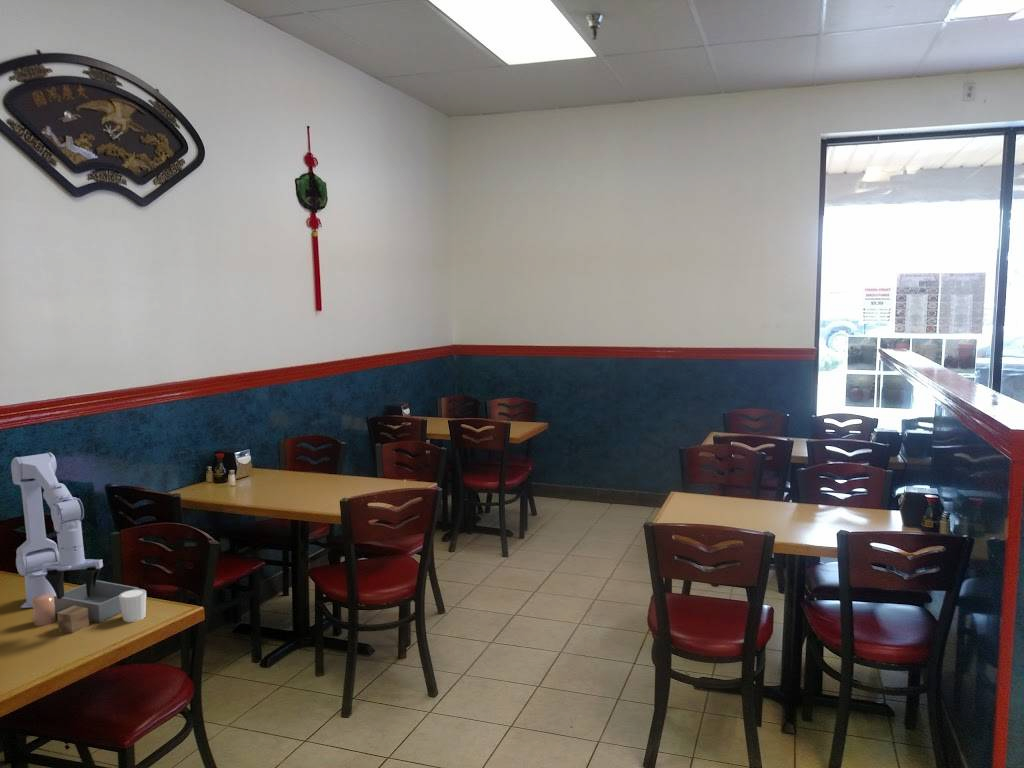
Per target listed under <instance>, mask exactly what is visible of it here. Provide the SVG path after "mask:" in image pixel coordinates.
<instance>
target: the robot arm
mask: <svg viewBox="0 0 1024 768" xmlns="http://www.w3.org/2000/svg"><path fill="white" fill-rule="evenodd" d="M57 467H58V466H57V460H56V456H55V455H54V454H53V453H52V452H46V453H45V452H44V453H39V454H31V455H26V456H16V457H13V459H12V460H11V463H10V470H11V478H12V483H13V485H16V486H17V485H18V486H19V488H20V491H21V498H22V506H23V507H22V508H23V515H24V516H23V517H24V527H25V534H26V535H25V537H26V540H25V541H24V542H23V543H22V544H20V546H18V547H17V548H16V557H15V567H16V569H17V572H18V574H19V575H20V576H23V577H24V587H25V599H26V601H24V603H23V604H22V605H21V606H20V609H26V608H27V609H28V608H33V602H32V599H33V598H34V597H36V596H38V595H42V594H53V595H54V596H57V598H58V599H61V598H62V597H64V592H65V588H64V576H65V571H77V570H78V571H79V570H84V571H82V573H81V574H82V576H83V578H84V582H85V583H84V584H86V591H87V596H88V597H90V596H92V595H93V594H94V588H95V583H96V580H98V577H99V573H100V572H101V570H102V568H103V567H104V563H103V559H93V558H92V559H91V558H88V559H87V558H86V557H85V550H84V540H83V539H84V538H83V530H82V529H83V527H82V520H84V517H85V509H84V505H83V502H82V501H81V499H80V498H78V497H74V496H72V494H71V492H70V490H69V489H68V488H67V486H66V485H65V484H64V483H61V482H59V480H58V478H57V476H56V471H57ZM42 489H43V492H42ZM43 499H44V500H45V501H46V504H47V505H48V507H49V509H50V515H51V520H52V522H53V529H54V531H55V532H56V537H57V538H56V539H57V540H56V541H57V543H56V542H55V540H52V539H50V538H48V537H47V533H46V532H47V531H46V524H45V514H44V506H43V505H44V504H43Z"/></svg>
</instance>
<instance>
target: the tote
mask: <svg viewBox="0 0 1024 768" xmlns="http://www.w3.org/2000/svg"><path fill="white" fill-rule="evenodd" d="M134 589H140V587H139V586H132V585H131V586H130V585H125V584H121V583H115V582H108V581H104V580H99V579H97V580H96V583H95V588H94V594H93V595H92V596H90V597H88V596H87V591H86V583H84V584H81V585H79V586H77V587H74V588H72V589H69V590H66V591H64V597H62V598H61V599H58V598H57V596H54V603H55V615H57V613H58V612H60V611H63V610H65V609H67V608H70V607H72V606H79V607H84V608H88V619H89V620H92V621H91V622H94V621H97V622H96V623H99V622H100V623H102V622H101V621H103V620H105V621H106V619H107V620H108V618H109V619H111V618H113V616H114V617H116V616H118V615H119V613H120V614H122V613H121V606H120V601H119V595H120V594H121V593H123V592H125V591H128V590H134ZM117 614H118V615H117ZM115 615H116V616H115ZM110 617H111V618H110ZM103 622H104V621H103Z"/></svg>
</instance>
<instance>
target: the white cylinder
mask: <svg viewBox="0 0 1024 768" xmlns="http://www.w3.org/2000/svg"><path fill="white" fill-rule="evenodd" d="M119 601H120V606H121V612H122V613H121V615H122V616H121V617H122V621H123V620H124V621H127V622H126V623H134V622H133V621H135V622H138V620H139V621H141V619H142V620H143V619H145V618H144V617H146V615H147V614H146V613H147V612H146V611H147V609H146V608H147V607H146V606H147V590H145V589H143V588H139V589H134V590H128V591H125V592H123V593H121V594H120V595H119ZM124 621H123V622H124Z"/></svg>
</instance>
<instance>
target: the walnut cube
mask: <svg viewBox="0 0 1024 768" xmlns="http://www.w3.org/2000/svg"><path fill="white" fill-rule="evenodd" d="M56 615H57V624H58V625H57V626H58V631H59V632H63V633H64V632H65V633H68V632H69V633H68V634H74V633H76V631H77V632H79V631H80V629H81V630H83V629H85V628H87V627H86V626H88V627H90V621H89V619H88V608H84V607H79V606H72V607H70V608H67V609H65V610H63V611H60V612H58V613H57V614H56ZM84 627H85V628H84ZM82 628H83V629H82ZM78 630H79V631H78Z"/></svg>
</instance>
